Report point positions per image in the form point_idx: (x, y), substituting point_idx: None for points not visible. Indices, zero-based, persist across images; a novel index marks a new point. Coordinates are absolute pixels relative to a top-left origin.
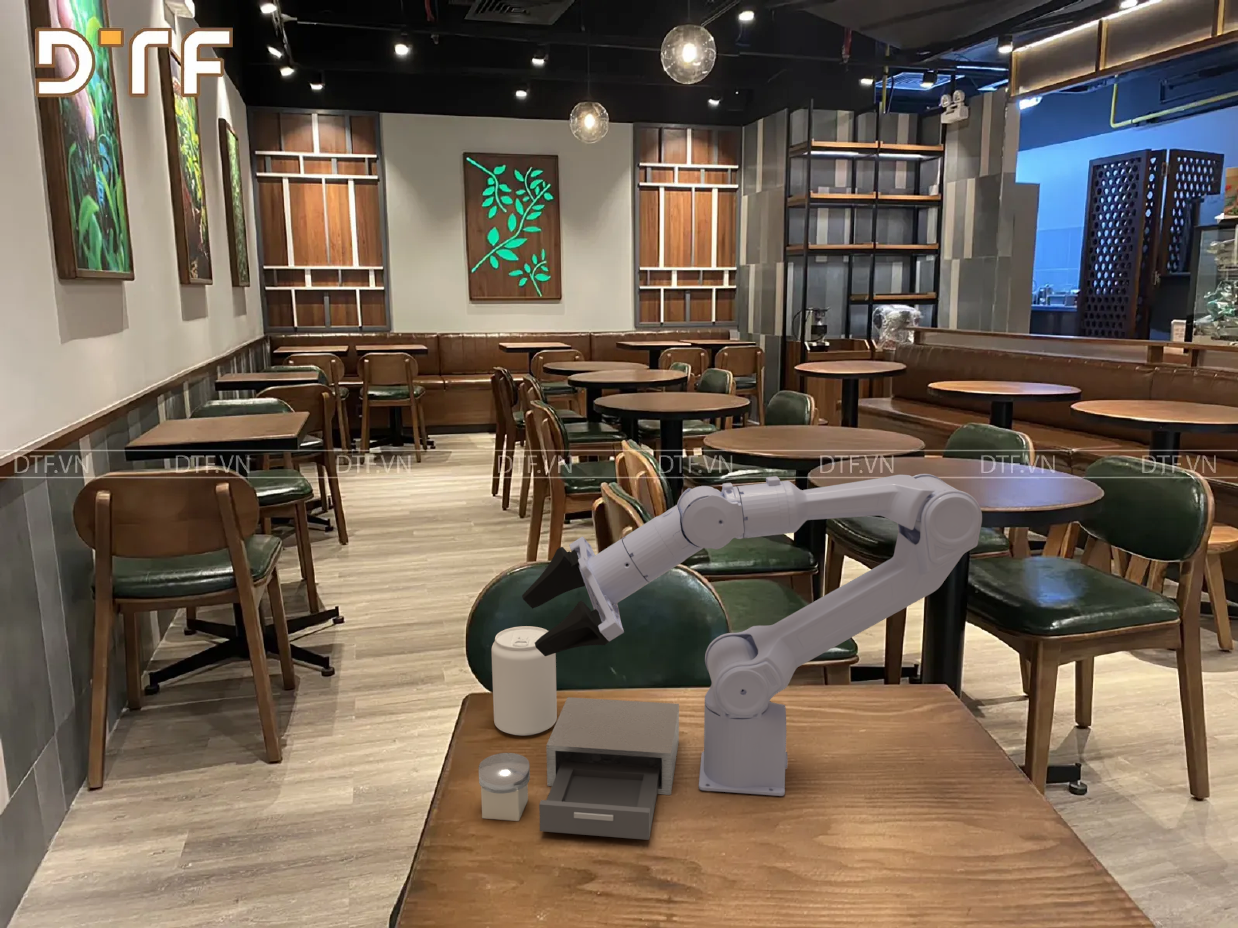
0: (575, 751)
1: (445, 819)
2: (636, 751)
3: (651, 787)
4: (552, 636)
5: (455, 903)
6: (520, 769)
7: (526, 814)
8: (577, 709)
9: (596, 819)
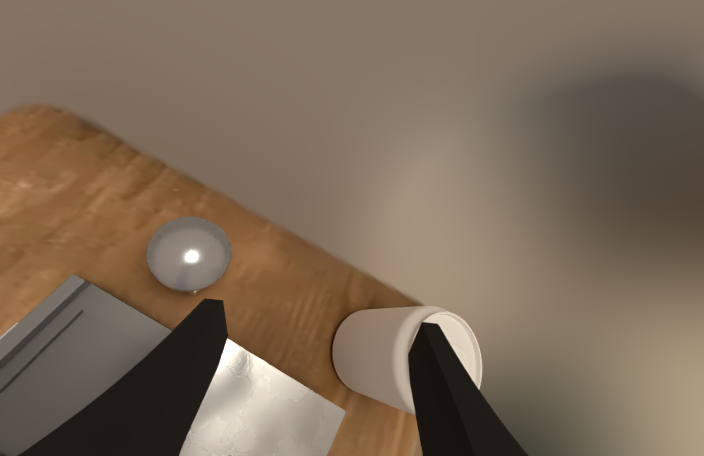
0: None
1: (209, 197)
2: None
3: None
4: (151, 351)
5: (18, 140)
6: (164, 269)
7: (160, 283)
8: (303, 418)
9: None
